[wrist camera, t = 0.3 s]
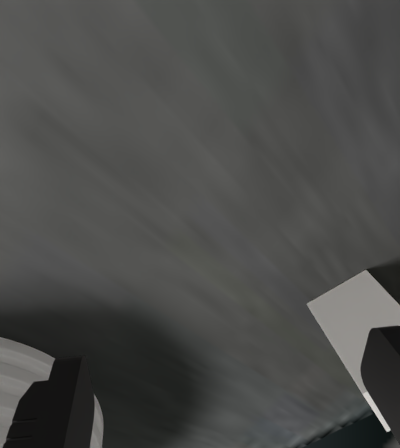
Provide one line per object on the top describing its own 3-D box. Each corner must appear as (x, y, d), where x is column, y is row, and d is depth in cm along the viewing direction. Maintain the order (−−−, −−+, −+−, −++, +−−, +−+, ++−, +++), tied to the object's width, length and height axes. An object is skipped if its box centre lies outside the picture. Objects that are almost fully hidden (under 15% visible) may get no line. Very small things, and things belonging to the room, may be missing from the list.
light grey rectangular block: (306, 303, 36) (362, 394, 28) (366, 269, 35) (443, 351, 27) (330, 340, 39) (387, 431, 31) (385, 309, 38) (460, 394, 30)
